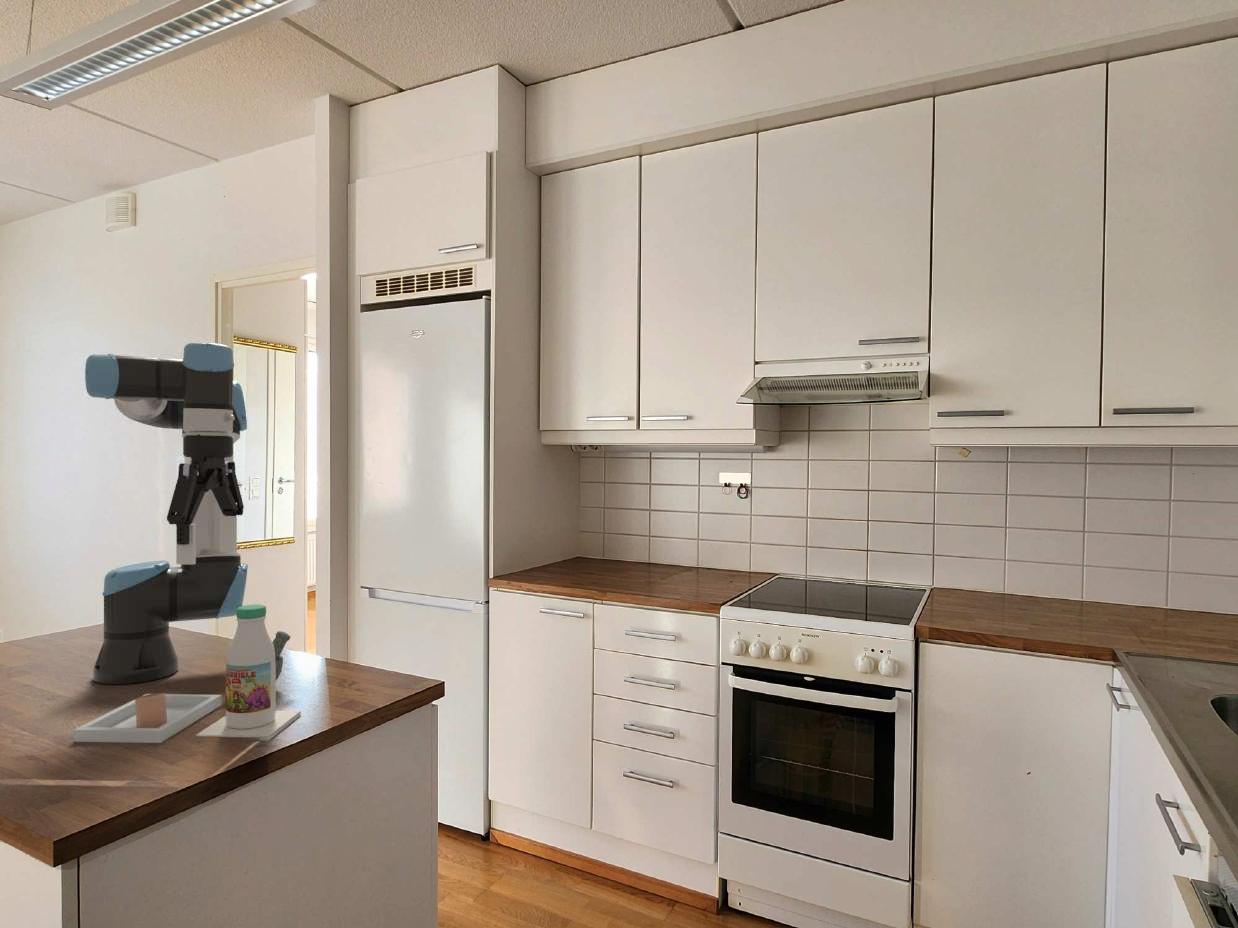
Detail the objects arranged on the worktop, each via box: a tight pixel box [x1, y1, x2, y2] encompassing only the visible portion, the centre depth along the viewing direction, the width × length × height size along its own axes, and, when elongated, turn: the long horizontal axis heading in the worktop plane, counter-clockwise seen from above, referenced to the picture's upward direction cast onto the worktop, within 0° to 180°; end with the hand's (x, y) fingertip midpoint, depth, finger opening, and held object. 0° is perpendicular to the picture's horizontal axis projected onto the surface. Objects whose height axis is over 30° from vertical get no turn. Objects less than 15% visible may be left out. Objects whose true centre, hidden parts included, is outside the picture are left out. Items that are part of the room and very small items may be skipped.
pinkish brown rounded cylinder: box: [134, 692, 167, 728], centre depth 127 cm, size 4×4×5 cm
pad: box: [195, 710, 302, 742], centre depth 129 cm, size 12×12×1 cm
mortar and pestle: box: [272, 630, 291, 681], centre depth 146 cm, size 11×9×12 cm
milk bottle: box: [225, 604, 277, 729], centre depth 129 cm, size 8×8×20 cm
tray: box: [73, 693, 223, 744], centre depth 129 cm, size 18×14×2 cm
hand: (208, 557), depth 129 cm, fingers open, 13 cm apart
